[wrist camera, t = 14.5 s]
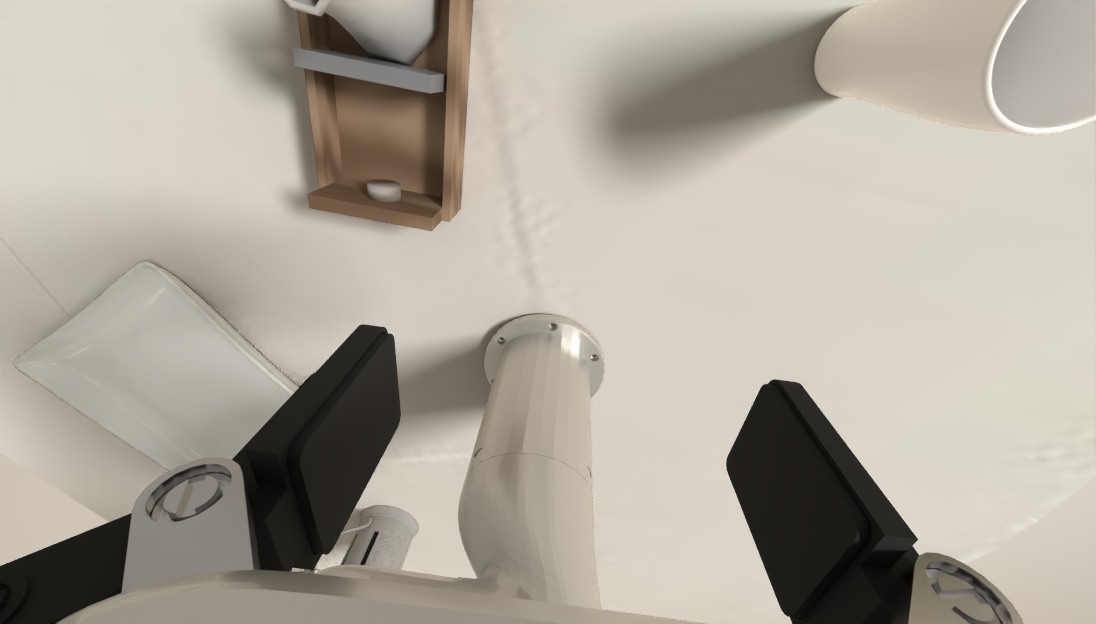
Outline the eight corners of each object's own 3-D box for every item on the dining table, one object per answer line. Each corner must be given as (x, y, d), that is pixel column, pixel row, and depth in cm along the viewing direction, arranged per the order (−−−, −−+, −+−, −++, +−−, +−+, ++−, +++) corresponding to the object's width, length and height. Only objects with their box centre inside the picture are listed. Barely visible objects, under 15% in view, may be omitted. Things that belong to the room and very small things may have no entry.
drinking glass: (890, -41, 25) (1222, -159, 12) (924, 59, 27) (1230, 50, 14) (782, 44, 27) (959, 22, 14) (821, 128, 30) (1003, 174, 17)
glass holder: (380, 542, 64) (329, 661, 51) (328, 486, 57) (255, 607, 44) (428, 535, 62) (388, 657, 49) (381, 477, 55) (320, 601, 42)
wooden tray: (460, 208, 35) (439, 232, 30) (342, 186, 34) (301, 206, 29) (477, -68, 25) (451, -103, 20) (316, -103, 25) (248, -147, 20)
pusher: (451, 90, 29) (430, 93, 25) (334, 66, 29) (294, 66, 25) (451, 74, 28) (430, 75, 24) (333, 50, 28) (291, 47, 24)
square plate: (43, 346, 47) (2, 366, 44) (178, 242, 39) (140, 258, 36) (232, 481, 59) (211, 505, 55) (369, 423, 50) (353, 448, 47)
